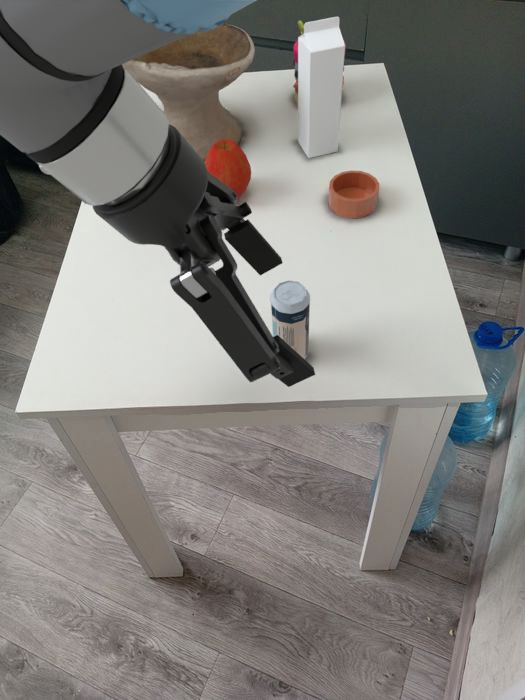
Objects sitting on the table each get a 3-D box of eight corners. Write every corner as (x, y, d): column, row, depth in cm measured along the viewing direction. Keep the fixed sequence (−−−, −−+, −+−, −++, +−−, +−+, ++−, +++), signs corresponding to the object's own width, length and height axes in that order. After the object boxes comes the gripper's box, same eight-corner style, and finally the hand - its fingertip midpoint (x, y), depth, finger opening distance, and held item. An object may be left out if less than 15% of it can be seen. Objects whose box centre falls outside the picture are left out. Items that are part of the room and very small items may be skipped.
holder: (383, 213, 86) (386, 195, 83) (336, 222, 85) (337, 204, 82) (367, 184, 90) (369, 166, 87) (322, 193, 90) (323, 175, 87)
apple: (247, 212, 88) (242, 157, 79) (201, 208, 89) (191, 153, 80) (257, 183, 92) (253, 127, 84) (213, 180, 94) (204, 125, 85)
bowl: (258, 175, 94) (250, 61, 78) (124, 179, 95) (88, 69, 79) (261, 102, 109) (255, -6, 93) (145, 107, 110) (120, 2, 94)
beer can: (315, 354, 69) (318, 294, 60) (288, 372, 68) (287, 314, 58) (293, 332, 72) (292, 271, 62) (266, 350, 70) (261, 290, 60)
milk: (297, 142, 99) (296, 15, 82) (327, 135, 100) (332, 8, 83) (308, 159, 96) (310, 30, 78) (338, 152, 97) (347, 23, 79)
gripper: (86, 95, 41) (232, 246, 57) (82, 345, 27) (277, 451, 43) (159, 36, 38) (290, 212, 54) (197, 277, 24) (358, 417, 40)
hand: (284, 317), depth 49 cm, fingers open, 13 cm apart
